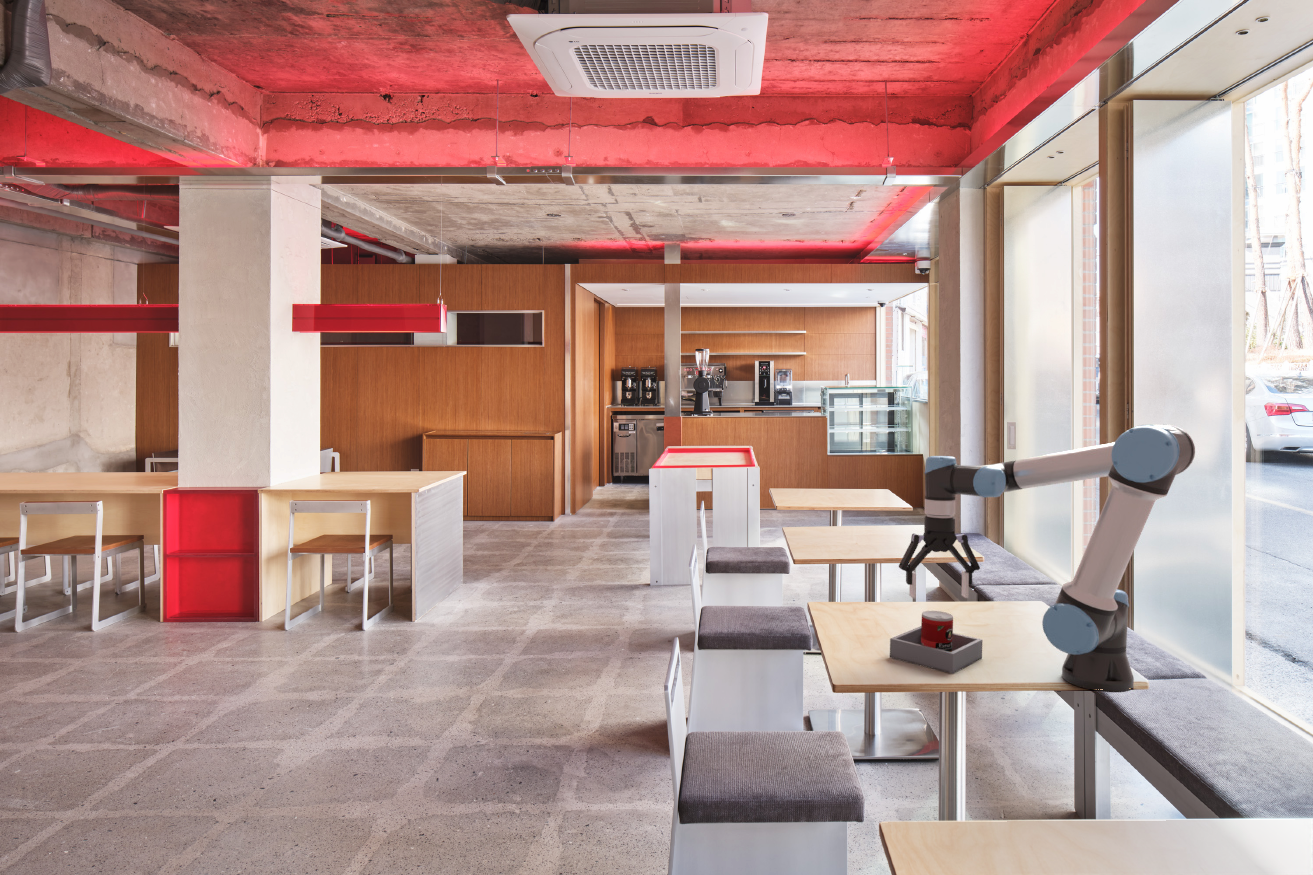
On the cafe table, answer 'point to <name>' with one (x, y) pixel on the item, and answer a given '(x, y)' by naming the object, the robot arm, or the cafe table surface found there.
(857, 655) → the cafe table surface
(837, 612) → the cafe table surface
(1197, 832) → the cafe table surface
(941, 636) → the canned food
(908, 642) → the box
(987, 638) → the cafe table surface
